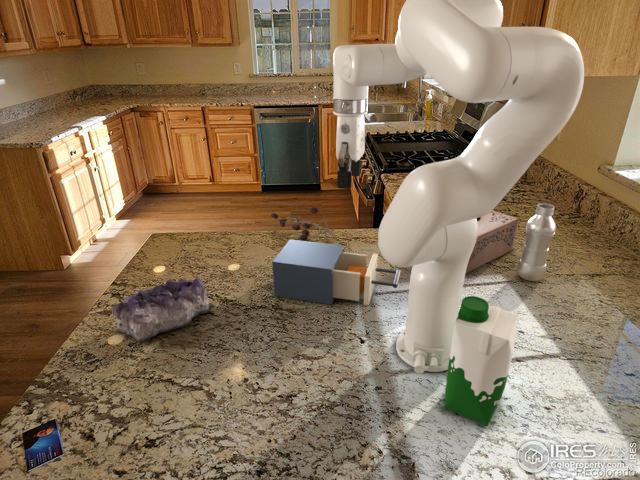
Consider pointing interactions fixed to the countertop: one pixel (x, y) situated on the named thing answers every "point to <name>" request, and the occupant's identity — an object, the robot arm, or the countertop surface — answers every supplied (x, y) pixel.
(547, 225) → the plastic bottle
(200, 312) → the geode
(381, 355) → the countertop surface
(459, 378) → the milk carton
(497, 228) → the tissue box cover
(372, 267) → the cabinet drawer
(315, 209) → the decorative branch
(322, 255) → the blue cabinet body
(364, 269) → the orange foam cube
